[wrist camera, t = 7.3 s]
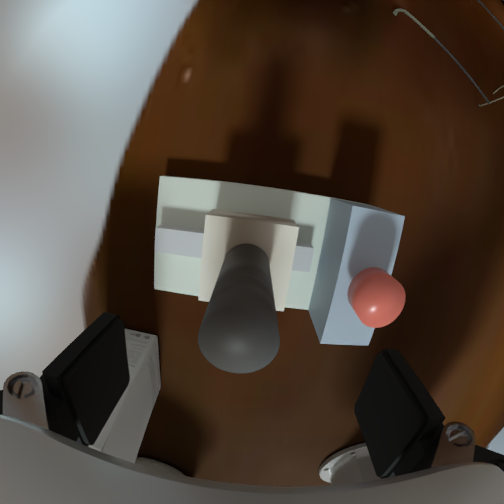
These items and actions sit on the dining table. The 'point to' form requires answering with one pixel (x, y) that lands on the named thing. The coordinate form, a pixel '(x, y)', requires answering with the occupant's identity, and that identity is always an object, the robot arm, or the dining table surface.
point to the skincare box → (133, 399)
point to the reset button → (376, 297)
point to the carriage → (244, 287)
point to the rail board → (237, 200)
